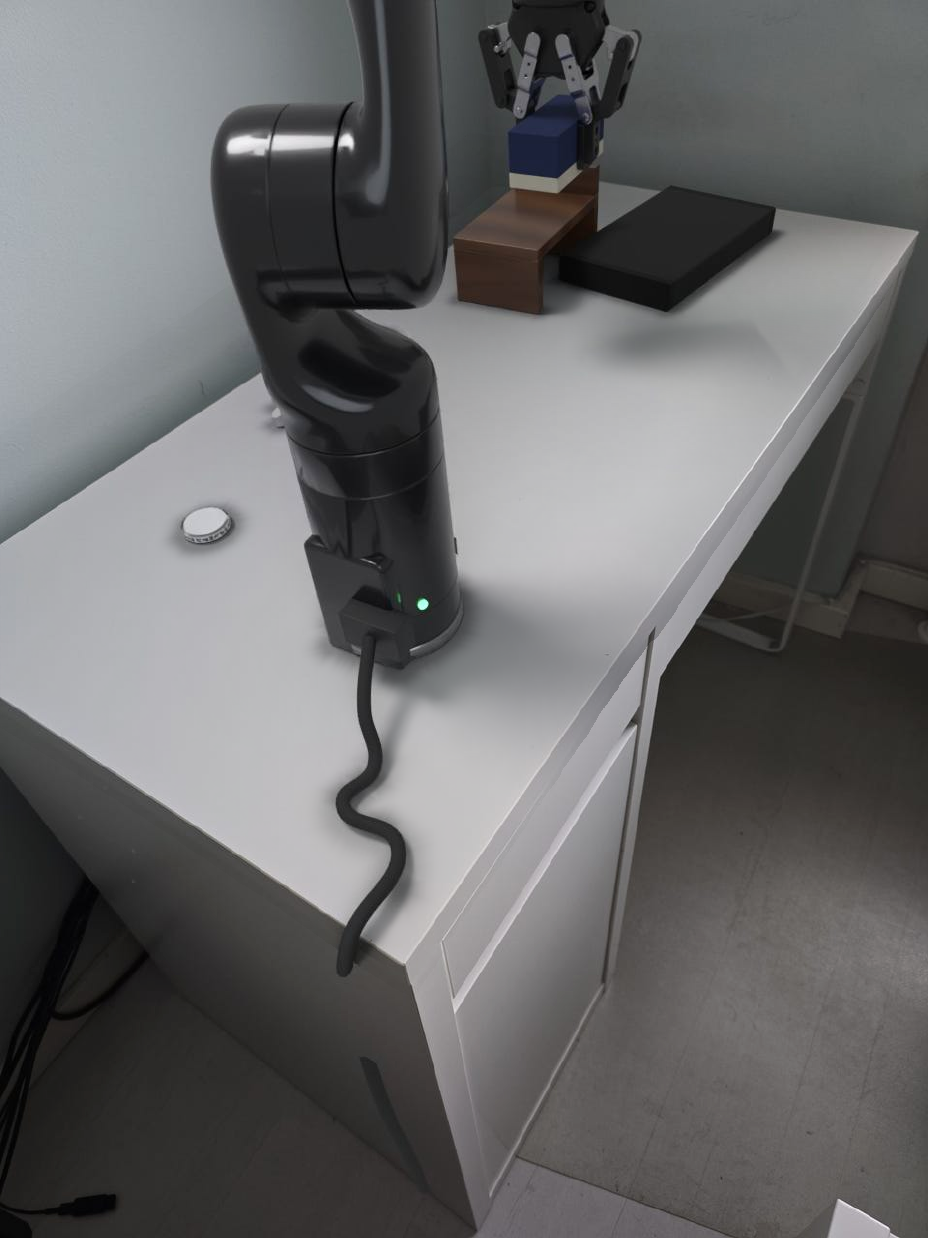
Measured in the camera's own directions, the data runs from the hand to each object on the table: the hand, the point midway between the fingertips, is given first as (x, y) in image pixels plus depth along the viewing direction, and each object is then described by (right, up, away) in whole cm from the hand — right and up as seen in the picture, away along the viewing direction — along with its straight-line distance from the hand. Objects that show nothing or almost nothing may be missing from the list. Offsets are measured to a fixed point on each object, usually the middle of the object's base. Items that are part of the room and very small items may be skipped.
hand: (557, 162), depth 78 cm
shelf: (-1, -1, +23) cm, 23 cm away
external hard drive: (+15, +1, +24) cm, 28 cm away
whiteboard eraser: (0, 0, 0) cm, 1 cm away
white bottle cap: (-30, -33, -5) cm, 45 cm away
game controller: (-22, -20, +7) cm, 30 cm away
